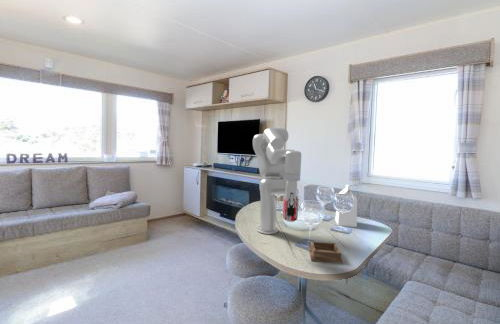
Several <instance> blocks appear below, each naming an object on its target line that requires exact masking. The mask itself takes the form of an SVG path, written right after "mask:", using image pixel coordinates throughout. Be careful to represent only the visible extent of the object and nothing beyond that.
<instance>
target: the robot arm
mask: <svg viewBox="0 0 500 324" xmlns="http://www.w3.org/2000/svg"><path fill="white" fill-rule="evenodd" d="M288 140H289V132H288V130H287V129H285V128H284V127H283V128H282V127H268V128H266V129H264V131H263V133H258V134H255V135H254V136H253V138H252V149H253V151H254V153H255V156H256V158H257V162H258V163H257V164H258V170H259V174H260V176H261V178H263V179H261V180H260V181H259V193H260V202H259V203H260V206H259V207H260V211H259V212H260V213H259V226H257V228H256V231H257V232H258V233H261V234H264V235H274V234H277V233H278V232H279V228H278V227H277V203H278V202H277V200H276V198H275V197H274V195H285V196H284V198H285V201H288V208H287V216H294V209H295V207H294V202H295V201H296V195H297V192H298V182H300V181H301V171H302V169H301V167H302V152H301V151H299V150H295V149H283V148H284V146H285V144H286V143H287V142H288ZM297 196H298V195H297ZM289 199H290V201H289ZM293 199H295V200H294V201H293ZM289 202H290V203H289Z"/></svg>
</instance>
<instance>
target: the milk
mask: <svg viewBox="0 0 500 324" xmlns="http://www.w3.org/2000/svg"><path fill="white" fill-rule="evenodd" d="M338 194H349V195H353V197H354V207H353V209H352V210H351V211H350V212H347V213H343V214H342V213H341V212H340V211H339V212H338V211H336V210H335V218H334V220H335V222H336V224H337V226H339V227H340V226H341V227H353V228H357V227H358V226H357V225H358V222H357V221H358V218H357V217H358V197H357V196H356V195H355V193H353V192H352V191H351V185H350V184H345V188H343V189H342V190H340V191H339V193H338Z"/></svg>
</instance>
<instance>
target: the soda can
mask: <svg viewBox="0 0 500 324" xmlns="http://www.w3.org/2000/svg"><path fill="white" fill-rule="evenodd" d="M294 200H295V199H293V201H294ZM289 201H290V199H289ZM289 203H290V202H289ZM282 205H283V206H282V219H284V221H286V222H290V223H292V222H293V223H294V222H296V221H297V220H298V217H299V198H298V195H296V201H295V202H294V207H295V209H294V216H287V208H288V201H285V197H284V198H283V204H282Z"/></svg>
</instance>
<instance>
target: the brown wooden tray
mask: <svg viewBox="0 0 500 324" xmlns="http://www.w3.org/2000/svg"><path fill="white" fill-rule="evenodd" d="M308 248H309V249H308V252H309V256H310V261H312V262H322V263H323V262H324V263H333V264H336V263H337V264H344V259H343V258H342V252H341V251H340V249H339V247H338V245H337V243H336V242H323V241H313V240H312V241H310V245H309V246H308Z"/></svg>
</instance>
